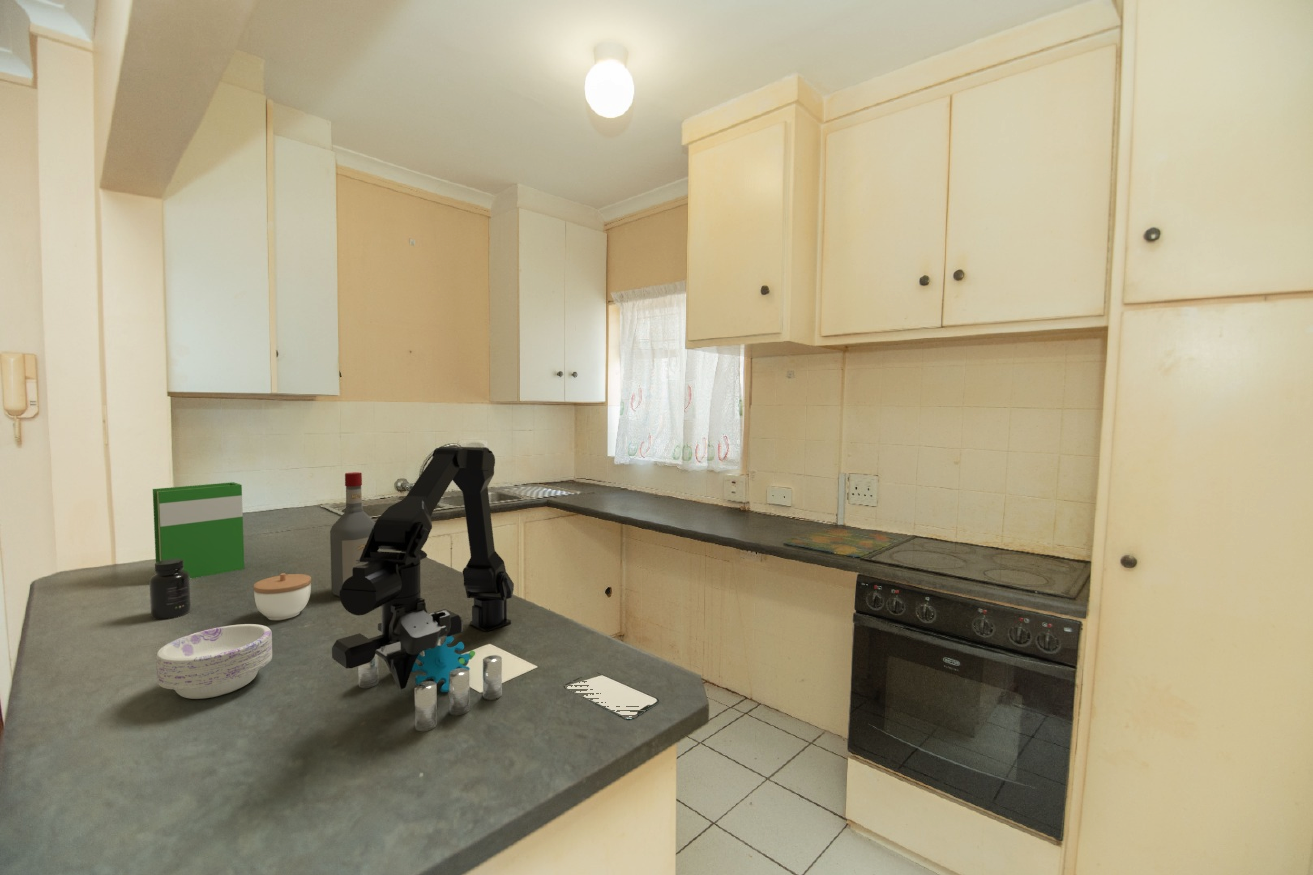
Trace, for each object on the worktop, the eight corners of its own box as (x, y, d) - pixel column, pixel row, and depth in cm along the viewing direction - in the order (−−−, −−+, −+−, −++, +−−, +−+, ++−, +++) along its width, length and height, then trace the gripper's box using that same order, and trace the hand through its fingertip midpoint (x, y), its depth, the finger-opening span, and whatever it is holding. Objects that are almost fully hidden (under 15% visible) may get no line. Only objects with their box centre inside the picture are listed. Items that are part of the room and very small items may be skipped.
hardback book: (162, 583, 145) (158, 492, 144) (156, 578, 150) (152, 489, 148) (244, 568, 159) (241, 484, 158) (236, 563, 164) (233, 482, 162)
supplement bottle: (143, 617, 123) (141, 563, 122) (179, 606, 129) (177, 555, 129) (162, 622, 120) (160, 567, 120) (198, 611, 127) (196, 559, 126)
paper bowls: (211, 663, 102) (209, 620, 102) (293, 665, 102) (291, 622, 101) (130, 708, 87) (128, 658, 87) (226, 711, 87) (224, 661, 86)
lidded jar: (265, 628, 118) (263, 584, 117) (247, 616, 124) (245, 574, 124) (320, 613, 126) (319, 572, 126) (300, 603, 133) (299, 564, 132)
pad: (489, 644, 112) (489, 643, 112) (537, 667, 102) (537, 666, 102) (432, 665, 102) (432, 664, 102) (480, 693, 93) (480, 692, 93)
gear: (416, 695, 89) (407, 635, 94) (405, 710, 92) (397, 652, 97) (483, 681, 96) (471, 627, 101) (470, 696, 99) (459, 642, 104)
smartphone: (560, 689, 95) (629, 723, 85) (560, 686, 95) (629, 720, 85) (593, 672, 101) (662, 702, 91) (593, 669, 101) (662, 699, 91)
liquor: (383, 590, 142) (381, 472, 141) (347, 600, 135) (344, 476, 133) (363, 583, 147) (361, 470, 145) (327, 593, 140) (324, 473, 138)
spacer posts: (435, 655, 106) (435, 624, 106) (505, 694, 93) (505, 658, 92) (355, 684, 95) (354, 649, 95) (421, 733, 81) (421, 693, 81)
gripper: (362, 622, 77) (363, 732, 78) (481, 589, 91) (481, 683, 92) (329, 603, 84) (331, 704, 85) (445, 575, 98) (445, 662, 99)
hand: (401, 688), depth 90 cm, fingers closed
